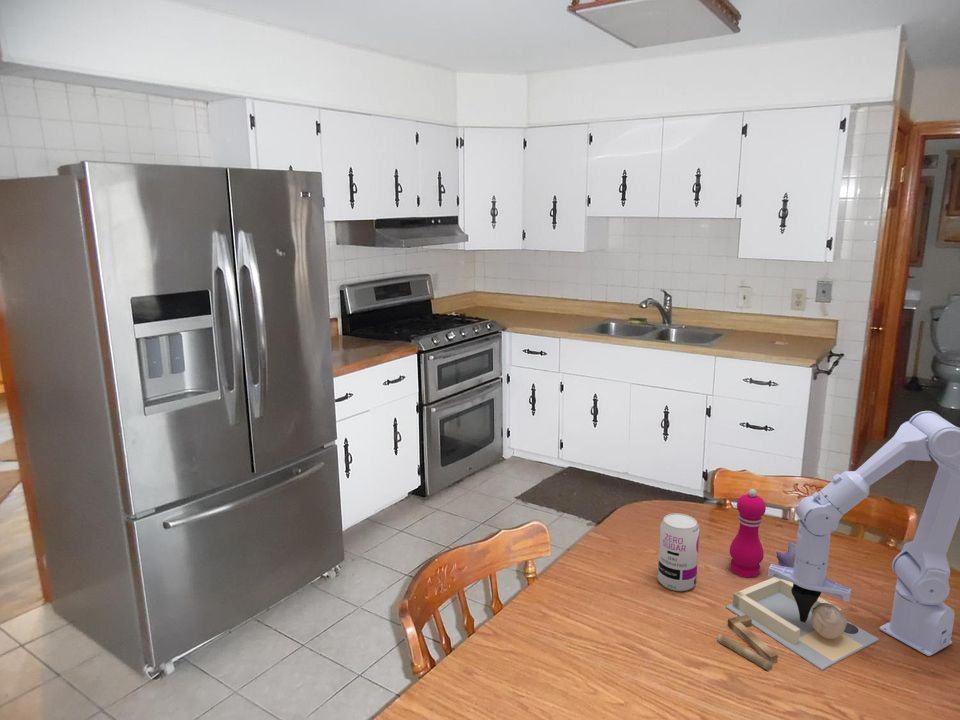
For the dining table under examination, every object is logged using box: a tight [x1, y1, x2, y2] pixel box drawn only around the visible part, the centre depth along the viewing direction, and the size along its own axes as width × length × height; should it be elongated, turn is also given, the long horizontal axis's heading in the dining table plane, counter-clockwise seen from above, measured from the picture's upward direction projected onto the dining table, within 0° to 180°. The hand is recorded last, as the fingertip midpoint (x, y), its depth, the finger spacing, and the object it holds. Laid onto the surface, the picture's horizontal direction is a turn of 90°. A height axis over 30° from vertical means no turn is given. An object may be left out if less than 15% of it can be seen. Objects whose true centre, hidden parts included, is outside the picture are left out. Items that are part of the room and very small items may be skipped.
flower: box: [775, 541, 796, 568], centre depth 150 cm, size 9×8×10 cm
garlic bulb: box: [811, 602, 848, 639], centre depth 130 cm, size 7×6×8 cm
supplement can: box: [657, 512, 701, 592], centre depth 148 cm, size 8×8×15 cm
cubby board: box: [725, 577, 880, 671], centre depth 135 cm, size 22×17×3 cm
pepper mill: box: [728, 488, 767, 578], centre depth 152 cm, size 7×7×20 cm
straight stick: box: [716, 633, 773, 671], centre depth 126 cm, size 11×2×2 cm
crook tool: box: [727, 615, 779, 664], centre depth 130 cm, size 12×4×2 cm, turn 18°
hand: (803, 619), depth 134 cm, fingers closed
